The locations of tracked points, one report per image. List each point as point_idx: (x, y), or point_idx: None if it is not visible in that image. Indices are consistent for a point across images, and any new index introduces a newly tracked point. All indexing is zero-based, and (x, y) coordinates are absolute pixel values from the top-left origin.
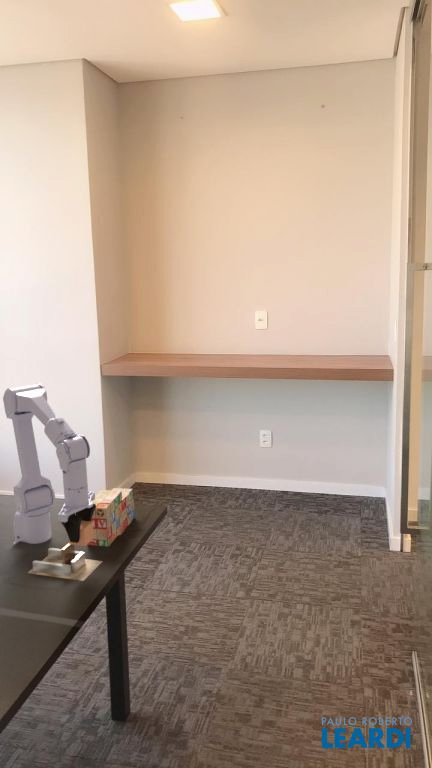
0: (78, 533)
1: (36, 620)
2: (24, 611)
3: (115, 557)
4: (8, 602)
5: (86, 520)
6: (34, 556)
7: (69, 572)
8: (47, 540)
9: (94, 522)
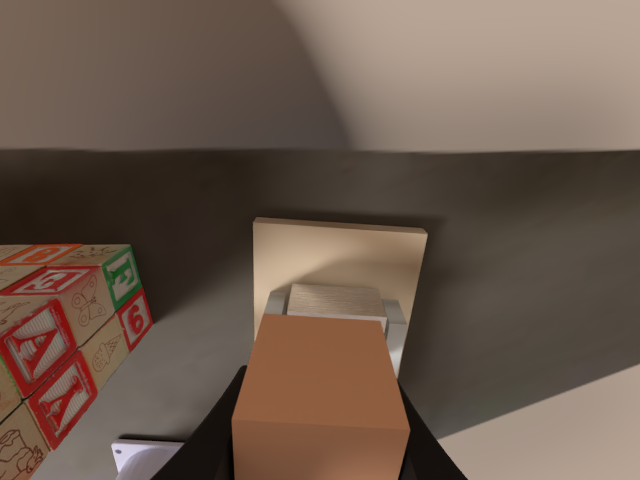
0: (422, 429)
1: None
2: (598, 338)
3: (179, 190)
4: (538, 397)
5: (226, 469)
6: None
7: (393, 307)
8: (168, 455)
9: (52, 385)
